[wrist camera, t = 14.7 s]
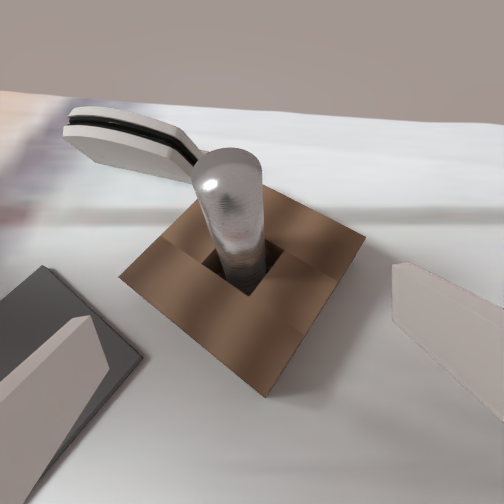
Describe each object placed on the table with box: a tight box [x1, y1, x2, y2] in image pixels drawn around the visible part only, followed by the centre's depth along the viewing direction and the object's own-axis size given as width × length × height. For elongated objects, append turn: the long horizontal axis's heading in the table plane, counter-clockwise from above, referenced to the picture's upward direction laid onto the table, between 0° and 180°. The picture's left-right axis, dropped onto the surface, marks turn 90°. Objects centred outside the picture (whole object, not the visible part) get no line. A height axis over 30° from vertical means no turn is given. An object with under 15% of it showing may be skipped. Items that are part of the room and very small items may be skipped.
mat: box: [0, 265, 143, 482], centre depth 25 cm, size 16×16×1 cm
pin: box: [191, 148, 266, 296], centre depth 22 cm, size 4×4×15 cm
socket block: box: [119, 184, 366, 398], centre depth 27 cm, size 16×16×4 cm
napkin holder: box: [63, 107, 209, 184], centre depth 34 cm, size 17×5×10 cm, turn 71°
